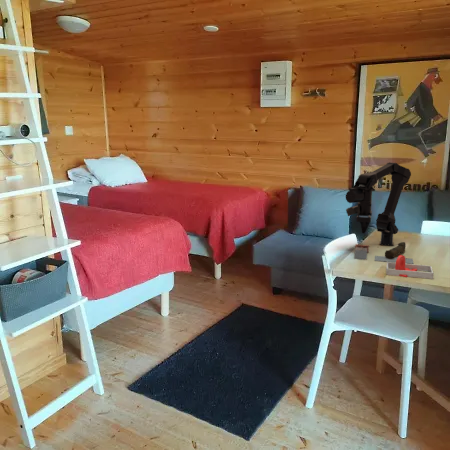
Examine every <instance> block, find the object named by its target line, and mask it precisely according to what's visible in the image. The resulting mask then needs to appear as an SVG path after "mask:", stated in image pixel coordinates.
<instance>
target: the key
mask: <svg viewBox="0 0 450 450" xmlns="http://www.w3.org/2000/svg"><path fill="white" fill-rule="evenodd" d="M356 247H358V248H367V253H369V251H370V250H369V248H370V245H368V244H355V249H356ZM355 249H354V250H355Z"/></svg>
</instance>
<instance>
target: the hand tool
mask: <svg viewBox="0 0 450 450" xmlns="http://www.w3.org/2000/svg"><path fill="white" fill-rule="evenodd" d="M405 252H406V242H399V243H398V244H397V246H395V247H393V248H391V249H388V250H385V252H384V256H385V257H386V258H388V259H392V258H394V257H397V256H399V255H400V254H404V253H405Z"/></svg>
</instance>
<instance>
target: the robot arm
mask: <svg viewBox="0 0 450 450" xmlns="http://www.w3.org/2000/svg"><path fill="white" fill-rule="evenodd" d="M388 175H391V182H392V185H391V188H390V191H389V195H388V198H387V201H386V204H385V207H384V209H383V212H381V213H380V212H379V213H378V215H377V218H376V219H375V221H376V222H375V225H376V231H377V232H380V233H381V234H380V240H379V246H389V247H393V246H394V235H396V234H398V232H399V228H398V227H397V225H396V216H395V212H396V210H397V206H398V203H399V201H400V196H401V195H402V191H403V189H404V186H405V185H407V184H408V183H409V181H410V178H411V176H412V171H411V169H409V168H407V167H404V166H402V165H400V164H399V163H397V162H387V163H386V164H384V165H383V166H381V167H379V168H376V169H374V170H372V171H371V172H365V173H361V174H359V175H358V178H357V179H356V181H355V183H354V185H353V186H352V187H351V188H349V189H348V191H347V192H346V194H345V201H346V202H347V203H349V204H354V203H357V205H353V206H350V207H347V208H346V209H345V211H346V215H347V216H348V217H350V216H353V215H357V216H356V222H359V223H360V227H361V233H362V234H365V233H366V232H367V230H368V227H369V225H370V223H371V221H372V214H373V213H372V212H373V210H372V198H373V197H372V196H373V192H375V191H376V189H375V188H374V187H375V185H376V184H377V183H378V181H379V180H381V179H382V178H384V177H386V176H388Z"/></svg>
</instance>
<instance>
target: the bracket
mask: <svg viewBox="0 0 450 450" xmlns="http://www.w3.org/2000/svg"><path fill="white" fill-rule="evenodd" d="M397 257H398V258H397V260H396V266H395V269H394V270H406V271H417V269H412V270H410V268H405V264H406V263H405V258H406V257H405V255H402V254H398V255H397ZM417 272H418V271H417ZM407 276H408V275H401V274H399V276H398V277H403V278H408V277H407Z"/></svg>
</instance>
